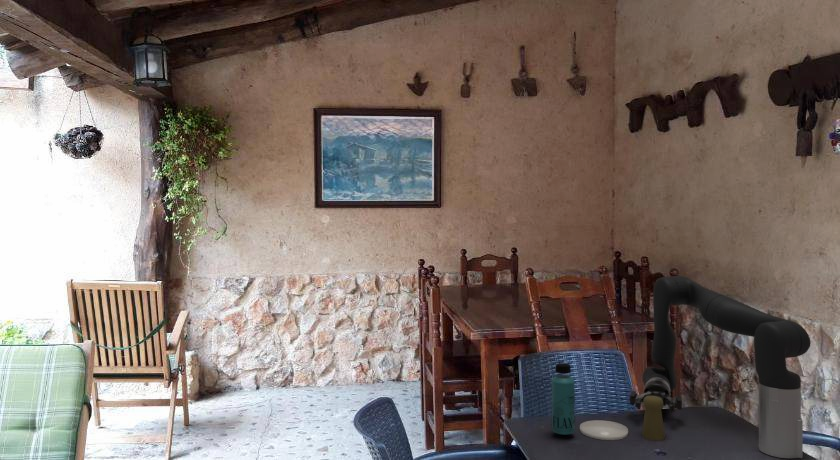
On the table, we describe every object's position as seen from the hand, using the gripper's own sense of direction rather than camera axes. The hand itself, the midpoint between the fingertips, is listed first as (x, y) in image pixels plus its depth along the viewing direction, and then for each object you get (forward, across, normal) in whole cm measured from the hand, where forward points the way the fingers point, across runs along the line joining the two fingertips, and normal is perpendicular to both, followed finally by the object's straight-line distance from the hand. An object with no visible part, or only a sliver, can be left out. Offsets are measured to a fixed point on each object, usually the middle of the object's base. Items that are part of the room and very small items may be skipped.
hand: (654, 407), depth 173 cm
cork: (+7, 0, +6) cm, 9 cm away
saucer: (+8, -13, +6) cm, 16 cm away
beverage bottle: (+15, -23, +6) cm, 28 cm away
